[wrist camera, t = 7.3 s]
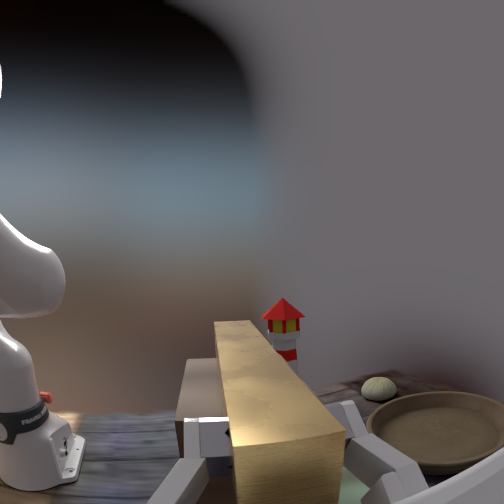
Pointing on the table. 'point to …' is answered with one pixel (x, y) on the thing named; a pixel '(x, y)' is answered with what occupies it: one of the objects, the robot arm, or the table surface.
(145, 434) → the table surface
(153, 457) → the table surface
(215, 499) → the two-tone block tower
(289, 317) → the decorative lighthouse
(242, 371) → the brass bar
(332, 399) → the table surface
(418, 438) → the plant saucer
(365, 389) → the sea urchin shell
